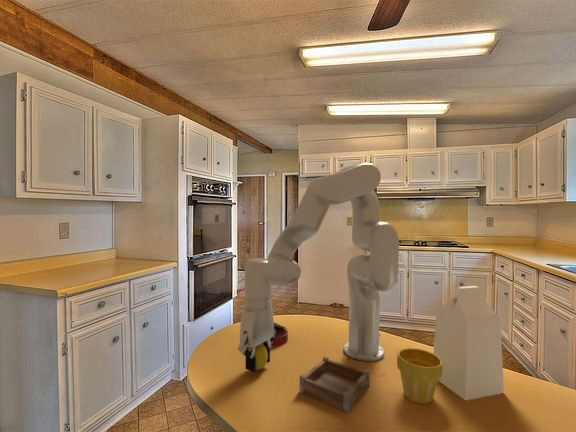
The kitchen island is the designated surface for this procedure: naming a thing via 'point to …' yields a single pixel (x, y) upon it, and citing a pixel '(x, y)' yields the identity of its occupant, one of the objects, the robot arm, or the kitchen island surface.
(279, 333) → the canned food
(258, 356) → the lemon
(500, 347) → the milk
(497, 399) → the kitchen island surface
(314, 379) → the wooden square tray
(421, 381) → the plant pot
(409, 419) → the kitchen island surface
